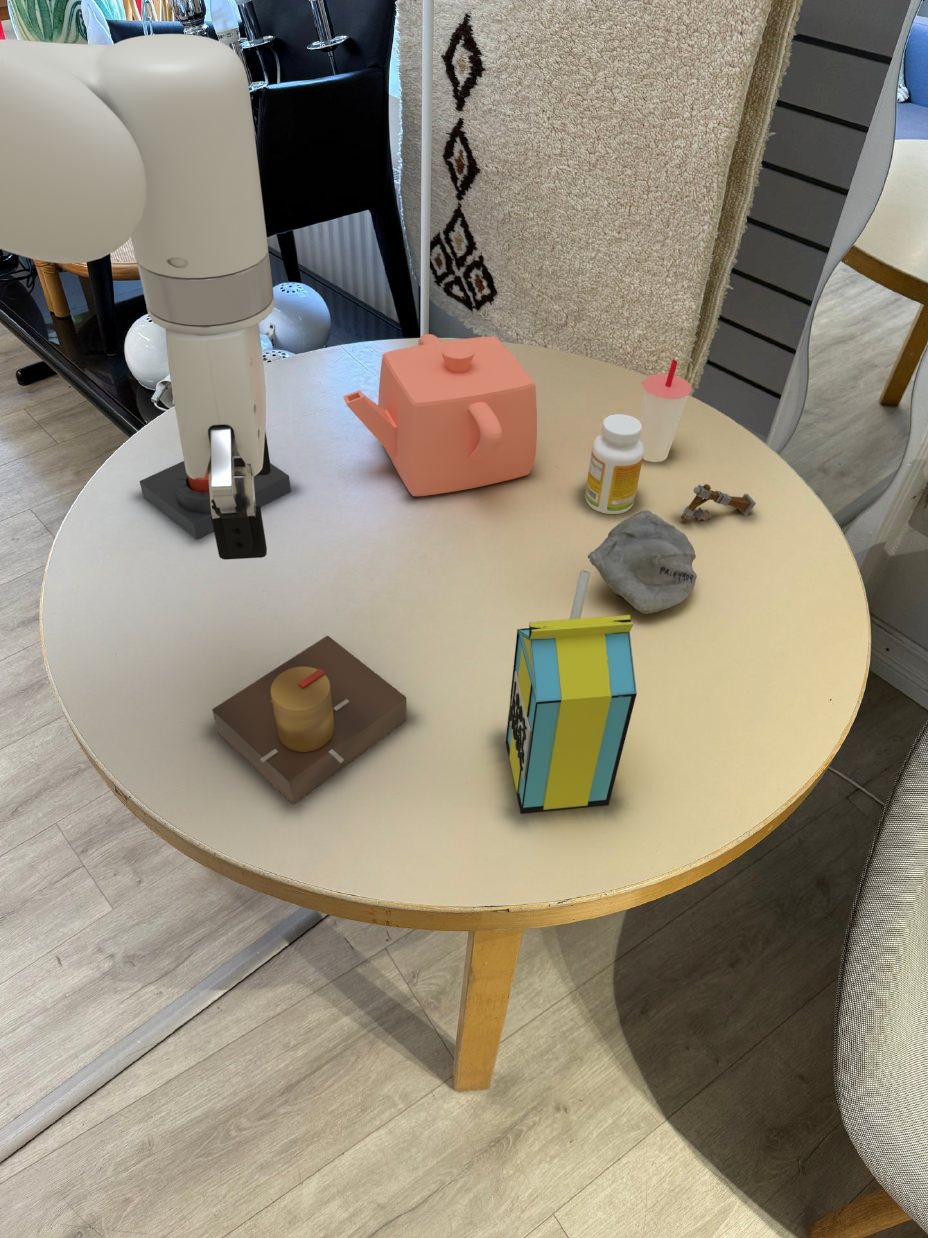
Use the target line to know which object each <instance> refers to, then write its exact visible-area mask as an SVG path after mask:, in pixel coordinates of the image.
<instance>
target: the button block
mask: <svg viewBox="0 0 928 1238" xmlns="http://www.w3.org/2000/svg"><path fill="white" fill-rule="evenodd" d="M270 465H271V471H270V473H269V474H268V475H258V476H253V477H254V490H255V504H256V506H260V508H262V507H265V506H266V505H268V504H270V503H271V502H274V501H276V500H278V499H279V498H282V497H284V496H285V495H288V494H290V493H291V492H292V489H291V481H290V475H288V473H286V472H284V470H281V469H280V468H279V467H277V466H276V465H275V464H272V463H271V462H270ZM234 480H235V487H236V494H242V495H243V496H244V497H245V490H244V478H234ZM139 485H140V489H141V493H142V496H143V498H144V499H145V500H146V501H147V502H149V503H150V504H151V505H152V506H153V507H155V508H156V509H158V510H159V511H160V512H161V513H162V514H164V515H165V516H166V517H168V518H169V519H170V520H171V521H172V522H174V523H175V524H176V525H178V526H179V527H180V528H181V529H183V530H184V531H185V532H186V533H188V534H189V535H190V536H191V537H193V538H194V539H195V540H197V541H198V540H200V539H202V538H204V537H206V536H208V535H210V534H213V533H214V529H213V524H212V519H211V514H210V512H211V506H210V493H209V492H197V491H194V490H192V489H191V488H190V485H189V480H188V476H187V473H186V469H185V463H184V460H182V461H181V462H180V461H179V462H178V463H176V464H173V465H171V466H169V467H167V468H164V469H163V470H160V471H159V472H156V473H154V474H152V475H150V476H147V477H145V478H142V479H141V480H139Z"/></svg>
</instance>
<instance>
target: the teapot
mask: <svg viewBox="0 0 928 1238" xmlns="http://www.w3.org/2000/svg"><path fill="white" fill-rule="evenodd" d="M380 364H381V365H380V373H379V382H378V383H379V385H378V401H377V402H378V403H376V402H374V401H373V400H372V399H370V398H369V397H368V396H367V395H365V394H364V393H363V392H362V390H361V389H359V390H357V391H354V392H351V393H348V394H345V395H343V400H344V402H345V404H346V406H347V407H348V409H350V411H351V412H352V413H353V414H354V415H355V417H357V418H358V420H360V422H361V423H362V424H363V426H365V428H366V429H368V431H370V433H371V434H372V435H373V437H374V438H376V440H377V441H378V442H379V443H380V444H381V445H382V446H383V447H384V449H385V452H386V453H387V455H388V458H389V459H390V461H391V463H392V464H393V467H394V468H395V470H396V473H397V474H398V475H399V477H400V479H401V481H402V482H403V484H404V486H405V487H406V489H407V491H408V492H409V493H410V495H411V496H412V497H424V496H432V495H439V494H447V493H452V492H453V493H454V492H459V491H465V490H469V489H470V490H471V489H476V488H479V487H485V486H490V485H493V484H497V483H503V482H507V481H511V480H514V479H518V478H522V477H524V476H528V475H530V474H531V472H532V470H533V466H534V463H535V459H536V454H537V442H538V441H537V440H538V407H537V406H538V405H537V389H536V383H535V382H534V380H533V379H532V378H531V376H530V375H529V374H528V372H527V371H526V370H525V368H524V367H523V366H522V364H521V363H520V362H519V361H518V360H517V359H516V357H515V356H514V355H513V353H512V352H511V351H510V350H509V349H508V348H507V347H506V346H505V344H503V343H502V341H500V339H499V338H498V337H497V336H495V335H494V336H493V335H492V336H477V337H469V338H462V339H453V340H446V341H442V340H441V339H440V338H439V337H438V336H436V335H435V334H431V333H425V334H422V335H421V336H420V337H419V338H418V341H417V345H415V346H407V347H404V348H403V347H402V348H399V349H398V348H397V349H393V350H389V351H386V352H384V353H383V354H382V357H381V363H380Z"/></svg>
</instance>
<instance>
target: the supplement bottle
mask: <svg viewBox="0 0 928 1238" xmlns="http://www.w3.org/2000/svg"><path fill="white" fill-rule="evenodd" d="M640 421H641V420H639V419H638V418H636V417H634V416H632V415H629V414H624V413H616V414H615V413H614V414H610V415H608V416H606V417H605V418H603V421H602V425H601V431H600V432H601V433H600V434H599V435H597V436H596V437H595V439H594V440H593V443H592V446H591V453H590V460H589V466H588V472H587V479H586V485H585V494H584V498H585V501H586V503H587V505H588V506H589V507H590V508H592V509H593V510H594V511H596V512H598V513H602V514H606V515H607V514H608V515H619V514H623V513H626V512H628V511H630V509H631V508H632V507H633V506H634V503H635V501H636V500H635V499H636V496H637V495H636V494H637V490H638V484H639V480H640V475H641V469H642V464H643V460H644V459H643V454H644V447H643V444H642V442H641V441H640V440H639V439H640V436H641V430H642V425H641V423H640Z"/></svg>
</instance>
